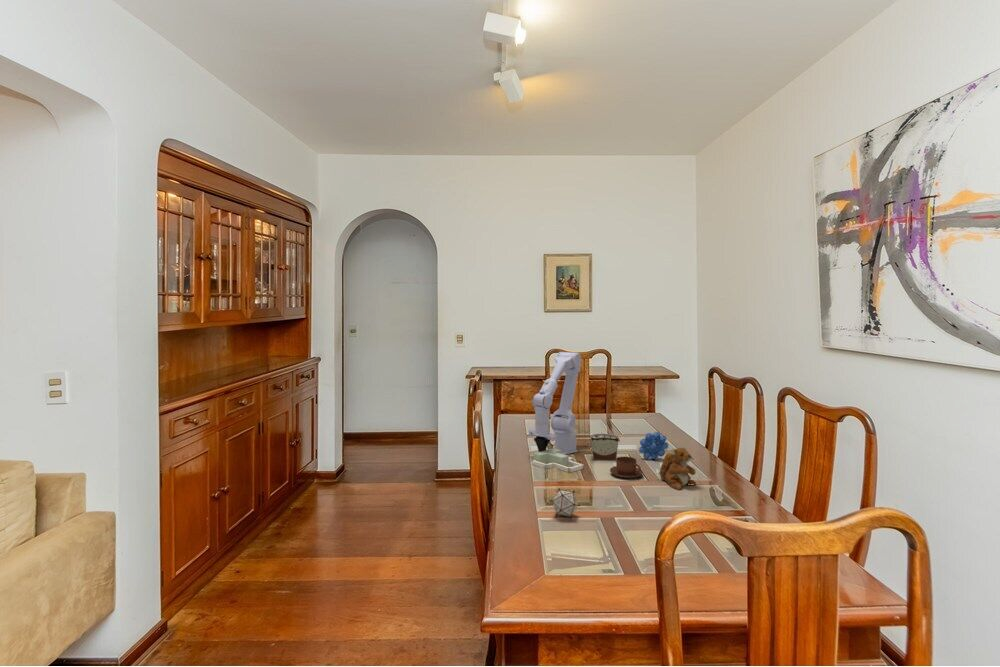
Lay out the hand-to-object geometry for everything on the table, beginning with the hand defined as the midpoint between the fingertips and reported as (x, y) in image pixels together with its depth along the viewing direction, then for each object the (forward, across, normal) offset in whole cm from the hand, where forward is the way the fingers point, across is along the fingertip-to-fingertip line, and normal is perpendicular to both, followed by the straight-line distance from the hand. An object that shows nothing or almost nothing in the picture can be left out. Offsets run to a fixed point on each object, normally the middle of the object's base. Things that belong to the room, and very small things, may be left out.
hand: (542, 454), depth 213 cm
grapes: (+2, +29, +36) cm, 47 cm away
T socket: (+2, +11, 0) cm, 11 cm away
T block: (+2, +7, 0) cm, 7 cm away
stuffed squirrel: (+2, +52, +17) cm, 54 cm away
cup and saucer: (+2, +35, +10) cm, 37 cm away
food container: (+2, +15, +21) cm, 26 cm away
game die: (+2, +48, -36) cm, 60 cm away
